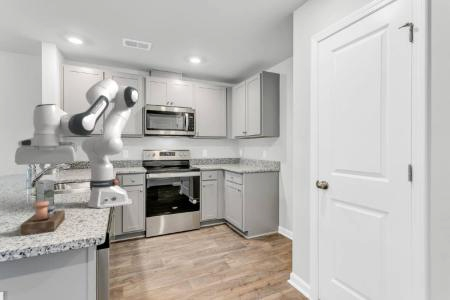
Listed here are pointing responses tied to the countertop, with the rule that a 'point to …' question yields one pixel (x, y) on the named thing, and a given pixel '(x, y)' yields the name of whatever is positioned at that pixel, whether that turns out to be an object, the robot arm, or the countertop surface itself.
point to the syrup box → (45, 191)
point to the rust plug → (41, 210)
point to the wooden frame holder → (43, 224)
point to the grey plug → (50, 210)
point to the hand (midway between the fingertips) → (47, 174)
